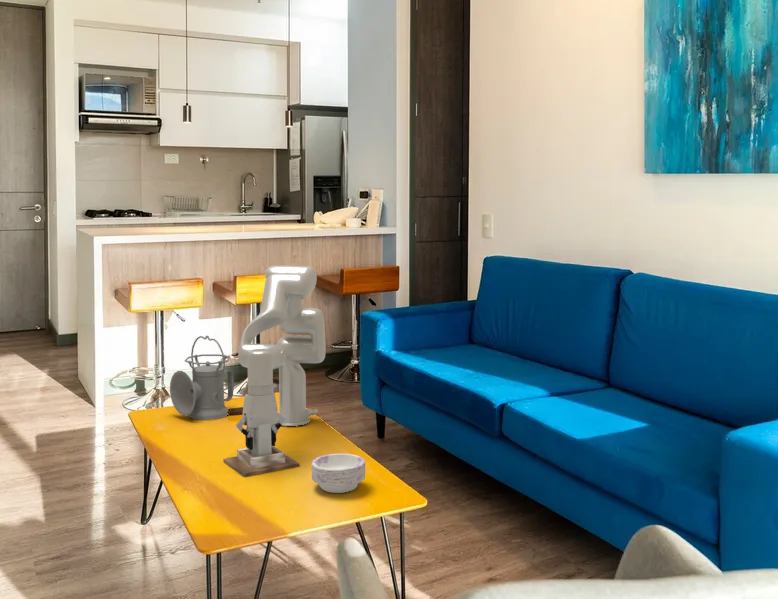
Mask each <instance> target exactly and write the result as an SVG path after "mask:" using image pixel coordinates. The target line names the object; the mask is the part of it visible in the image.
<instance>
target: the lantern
mask: <svg viewBox="0 0 778 599" xmlns="http://www.w3.org/2000/svg"><path fill="white" fill-rule="evenodd" d="M199 339H203V340H208V341H214V342H215V343H216V344H217V346H218V348H219V350H220V353H221V354H220V353H215V354H213V353H211V354H210V353H209V354H208V353H207V354H204V353H202V354H195V355H194V348H195V346H196V343H197V341H198V340H199ZM199 357H222V360H218V361H214V362H210V360H209V361H208V360H207V361H206V362H200V361H199V359H198V358H199ZM189 359H191V360H189ZM230 359H231V356H228V355H226V354H224V352H223V348H222V346H221V344H220V343H219V342H218V340H217V339H216V338H210V336H209V335H205V336H202V335H200V336H197V337H196V338H195V339H194V341H193V343H192V346H191V354H190V356H187V357H186V358H184V362H185V363H187V364H189V367H190V368H191V370H192V371H191V372H192V374H191V375H192V376H191V377H192V379H191V377H190V376H189V374H188V373H186V372H185V371H183V370H177V371H176V372H174V373H173V374H172V376H171V379H170V381H169V382H170V383H169V393H170V394H169V396H170V399H171V403H172V404H173V407H174V409H175V410H176V412H177V413H178V414H180V415H182V416H187V417H188V418H189V419H192V420H197V419H198V420H199V421H211V420H210V419H214V420H220V419H224V418H227V417H228V416H227V411H229V408H228V407H227V406H226V405H225V403H226V402H230V401H231V400H232V399H233V396H234V392H235V391H234V388H235V385H234V384H235V383H234V375H233V373H232V371H230V370H228V369H226V363H228V362H229V361H230ZM194 360H195V361H194ZM217 364H218V365H217ZM195 365H197V366H195ZM225 373H227V397H226V398H225V388H224V386H225V384H224V383H225V380H224V379H225ZM226 416H227V417H226ZM223 417H224V418H223ZM219 418H220V419H219Z"/></svg>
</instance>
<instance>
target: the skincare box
mask: <svg viewBox="0 0 778 599" xmlns="http://www.w3.org/2000/svg"><path fill="white" fill-rule="evenodd" d="M251 437H253V449H252V457H260V456H265V455H271V454H272V449H271V423H267V424H259V425H258V428H254V430H253V433H252V435H251Z"/></svg>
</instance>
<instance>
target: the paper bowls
mask: <svg viewBox="0 0 778 599" xmlns="http://www.w3.org/2000/svg"><path fill="white" fill-rule="evenodd" d="M366 463H367V462H366V459H365V458H363V457H361V456H359V455H357V454H351V453H330V454H324V455H320V456H318V457H316V458H314V459H313V460H312V462H311V479H312V481H313V482H314V483H316V484H318V486H319V488H320V489H322V490H323V491H325V492H327V493H331V494H345V492H346V493H349V491H350V492H352V491H354V490H355V489H357V487H358V485H359V483H360V482H363V481H364V480H365V478H366Z"/></svg>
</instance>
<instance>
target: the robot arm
mask: <svg viewBox="0 0 778 599" xmlns="http://www.w3.org/2000/svg"><path fill="white" fill-rule="evenodd" d="M264 275H265V283H264V288H263V293H262V298H261V305H260V312H259V313H258V315H257V316H255V317H254V318H253V319H252V320H250V322H249V323H248V324H247V326H246V327H245V328H244V330H243V331H242V334H241V337H240V342H239V347H238V356H237V357H238V363H239V364H240V366H242V367H243V368H246V369H247V393H246V394H245V395H244V400H243V404H242V417H241V419H240V420H239V421H238V422H237V423H236V424H235V428H236V429H237V430H238V431H240V432H241V433H242V434H243V436H245V448H248V449H250V450H252V449H253V437H251V435H252V433H253V430H254V428H258V425H259V424H267V423H271V445H272V446H274V447H276V442H277V433H278V431H279V429H280V428H281V427H287V426H296V427H299V426H298V425H303V426H305V425H304V424H306V425H308V424H310V423H311V418H310V417H311V416H315V415H316V416H317V415H319V411H318V409H317V408H316V409H311V408H307V403H306V402H307V398H306V397H307V388H306V387H307V378H306V377H307V375H306V371H305V370H304V369H303V367H302V365H301V364H320V363H322V362H324V360H325V358H326V350H327V349H326V348H327V346H326V328H325V326H326V325H325V317H324V314H323V311H321V309H319V308H317V307H316V308H315V307H304V306H303V300H306V299H307V298H309V297H310V295H311V294H312V293H313V291H314V290H315V287H316V286H317V280H318V279H317V278H318V276H317V272H316V269H315V268H314V267H312V266H309V265H308V266H307V265H285V264H284V265H281V264H279V265H271V266H269V267H267V268H266V269H265V274H264ZM277 326H279V329H280V331H281V333H283V334H286V335H287V336H286V335H285V336H282V337H280V338H279V339H278V340H277V342H276V344H270V343H269V344H267V343H252V342H253V341H254V339H255V338H256V337H257V336H258V335H260V334H262V333H263V332H265V331H267V330H269V329H272V328H275V327H277ZM303 335H304V336H303ZM305 335H306V336H305ZM276 369H278V376H279V377H278V378H279V379H278V385H279V386H278V385H277V384H276V383H274V373H273V372H274V370H276ZM277 388H279V392H278V393H279V394H278V396H279V397H278V398H279V401H278V403H279V404H278V403H277V398H276V394H275V391H274V390H275V389H277ZM278 405H279V409H278ZM278 410H279V412H278ZM309 422H310V423H309ZM307 423H308V424H307ZM281 425H282V426H281ZM243 426H245V428H244V427H243Z"/></svg>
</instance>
